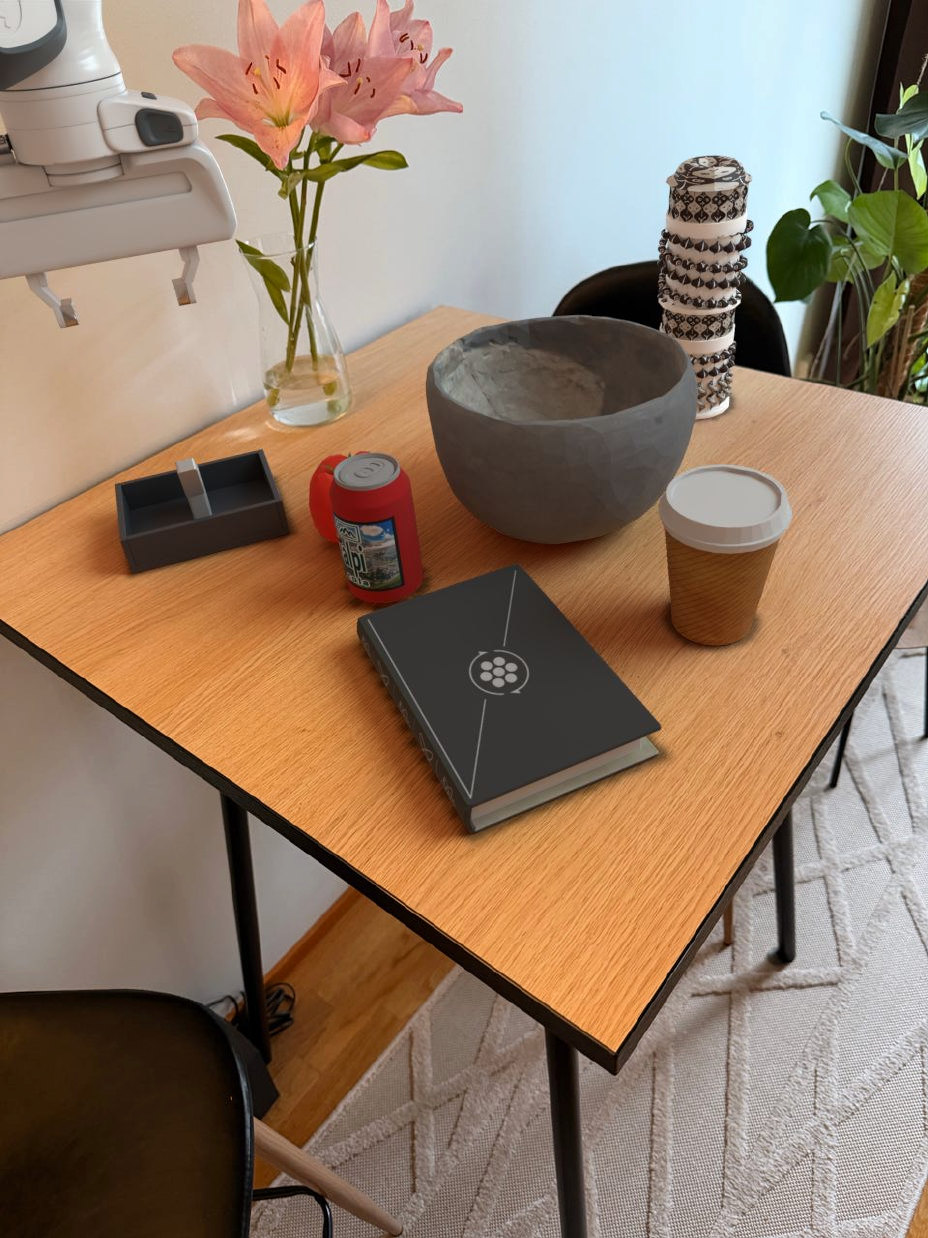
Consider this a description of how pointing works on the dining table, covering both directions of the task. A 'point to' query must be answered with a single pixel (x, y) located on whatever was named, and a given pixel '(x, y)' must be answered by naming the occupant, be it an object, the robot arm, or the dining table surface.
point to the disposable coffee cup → (720, 547)
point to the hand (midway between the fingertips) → (129, 313)
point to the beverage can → (376, 527)
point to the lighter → (193, 487)
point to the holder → (170, 534)
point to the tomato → (325, 496)
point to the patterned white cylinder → (705, 269)
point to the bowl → (561, 423)
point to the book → (504, 695)
